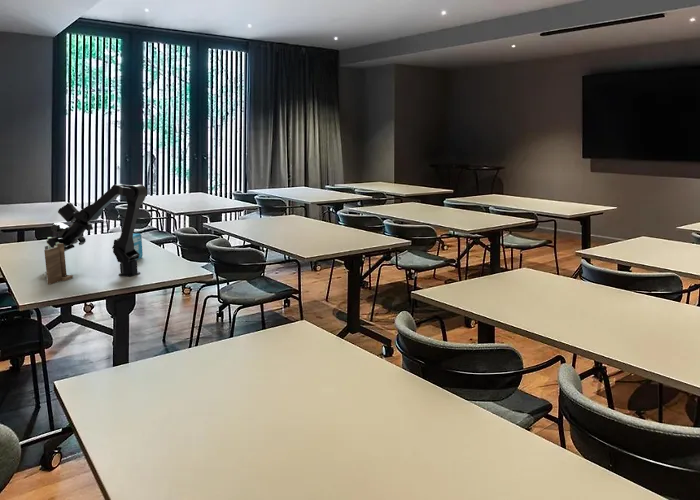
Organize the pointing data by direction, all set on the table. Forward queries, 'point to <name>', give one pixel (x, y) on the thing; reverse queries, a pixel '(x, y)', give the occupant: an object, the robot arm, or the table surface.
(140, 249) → the data package
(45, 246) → the sage green panel
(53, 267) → the brown piece
